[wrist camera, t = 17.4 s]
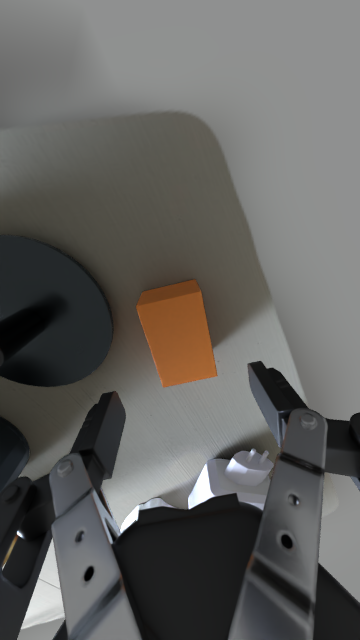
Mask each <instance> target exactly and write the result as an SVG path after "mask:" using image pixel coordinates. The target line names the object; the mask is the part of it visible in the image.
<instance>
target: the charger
mask: <svg viewBox="0 0 360 640" xmlns="http://www.w3.org/2000/svg"><path fill="white" fill-rule="evenodd" d="M255 452H256V450H255V449H252V450H251V452H248V451H241V452H238V453H236V454H234V456H233V458H232V460H226V459H212V460H209V461H207V463H206V465H205V467H204V469H203V471H202V473H201V474H200V476H199V478H198V480H197V482H196V484H195V486H194V488H193V490H192V492H191V494H190V496H189V498H188V504H189V509H190V508H192V507H194V506H196V505H198V504H200V503H202V502H204V501H206V500H208V499H209V498H211V497H215V496H221V495H226V494H232V493H237V496H238V500H239V501H241V502H246V503H249V504H252V505H254V506H256V507H258V508H260V509H261V510H263V508H264V504H265V501H266V497H267V493H268V489H269V485H270V478H269V476H268V473H269V472H270V471H271V469H272V468H273V465H274V464H273V463H272V462H271V461H270V460H269V459H268V458H266V457H267V455H268V454H269V452H268V451H265V452H264V453H263V455H261V454H259V453H255Z"/></svg>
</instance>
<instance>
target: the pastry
mask: <svg viewBox="0 0 360 640" xmlns="http://www.w3.org/2000/svg"><path fill="white" fill-rule="evenodd" d="M18 536H19V535H18V534H16V536H15V538H14V540H13V542H12V545H11V547H10V549H9V551H8V553H7V555H6V557H5V560H4V562H3V565H4V564H5V563H6V561H7V560H8V558H9V555H10V553H11V551H12V549H13V547H14V545H15V542H16V540H17V538H18Z"/></svg>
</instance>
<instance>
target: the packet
mask: <svg viewBox="0 0 360 640" xmlns="http://www.w3.org/2000/svg"><path fill="white" fill-rule="evenodd" d="M136 309H137V312H138V315H139V318H140V321H141V324H142V327H143V329H144V332H145V335H146V338H147V341H148V344H149V347H150V350H151V353H152V356H153V359H154V362H155V365H156V368H157V371H158V374H159V377H160V380H161V383H162V386H163V387H168V386H173V385H177V384H182V383H187V382H192V381H196V380H201V379H206V378H211V377H216V376H217V370H216V365H215V360H214V355H213V350H212V344H211V339H210V334H209V329H208V324H207V318H206V313H205V308H204V303H203V297H202V292H201V290H200V288H199V286H198V284H197V282H196V280H195V279H194V280H190V281H185V282H181V283H177V284H173V285H168V286H164V287H160V288H156V289H151V290H147V291H143V292H142V294H141V296H140V298H139V300H138V303H137V305H136Z"/></svg>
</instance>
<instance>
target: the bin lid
mask: <svg viewBox="0 0 360 640" xmlns="http://www.w3.org/2000/svg"><path fill="white" fill-rule="evenodd" d="M112 338H113V319H112V313H111V310H110V307H109V303H108V301H107V299H106V297H105V295H104V293H103V291H102V289H101V288H100V286H99V285H98V283H97V282H96V281H95V279H94V278H93V277H92V276H91V274H90V273H89V272H88V271H87V270H86V269H85V268H84V267H83V266H82V265H80V264H79V263H78V262H77V261H75V260H74V259H73V258H72V257H70V256H69V255H67V254H66V253H64V252H62V251H61V250H59V249H57V248H55V247H53V246H51V245H49V244H47V243H44V242H41V241H38V240H35V239H31V238H27V237H22V236H13V235H0V376H1V377H4V378H6V379H8V380H11V381H14V382H17V383H21V384H26V385H31V386H40V387H54V386H62V385H67V384H70V383H74V382H76V381H79V380H81V379H83V378H85V377H86V376H88V375H90V374H91V373H92V372H93V371H95V370H96V369H97V368H98V367H99V366H100V364H101V363H102V362H103V360H104V359H105V357H106V355H107V353H108V351H109V349H110V346H111V343H112Z"/></svg>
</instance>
